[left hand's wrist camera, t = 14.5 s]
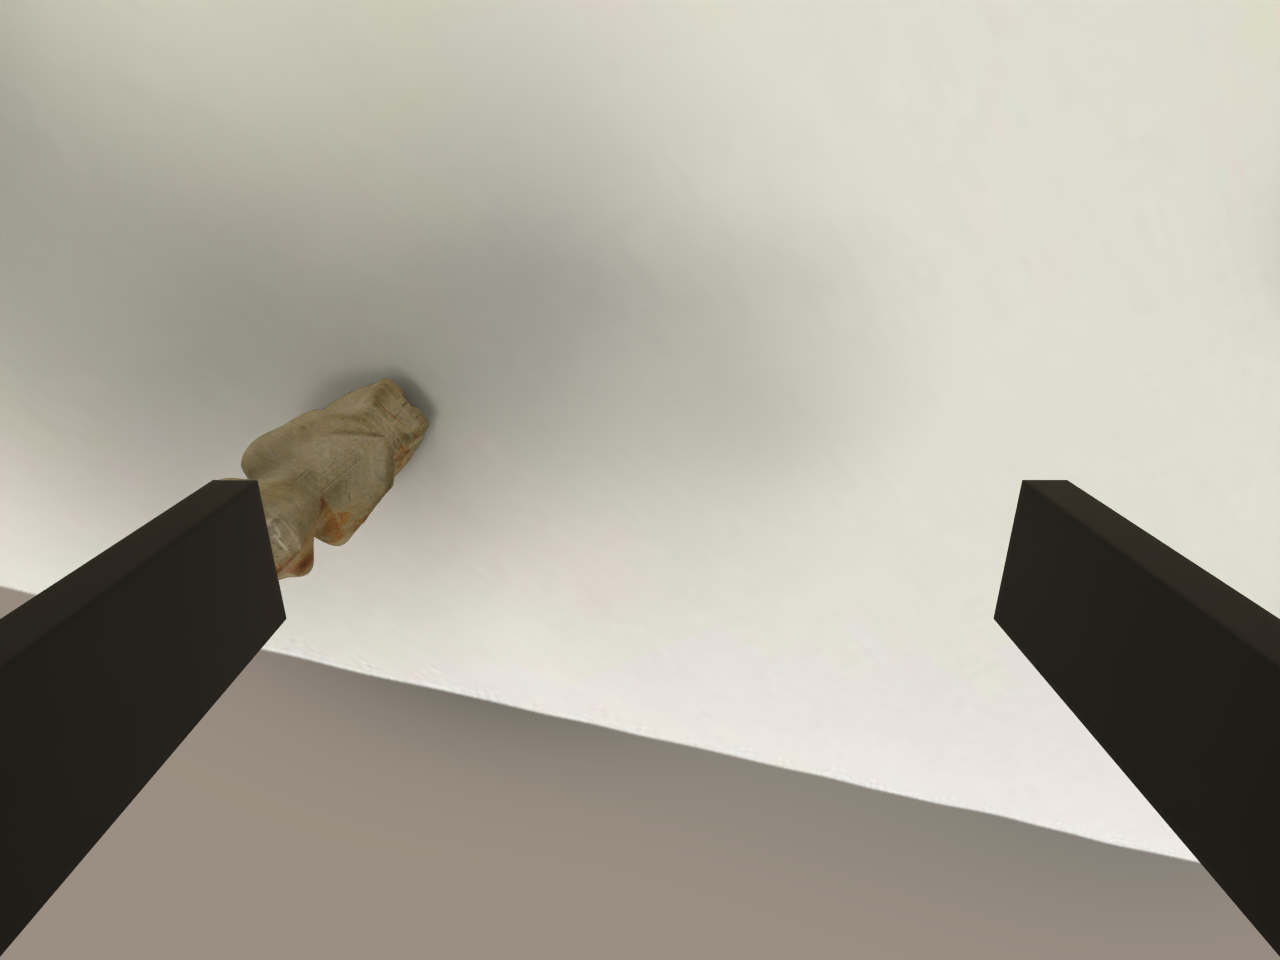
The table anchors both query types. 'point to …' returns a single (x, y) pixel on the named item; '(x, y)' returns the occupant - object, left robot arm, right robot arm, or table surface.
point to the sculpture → (331, 470)
